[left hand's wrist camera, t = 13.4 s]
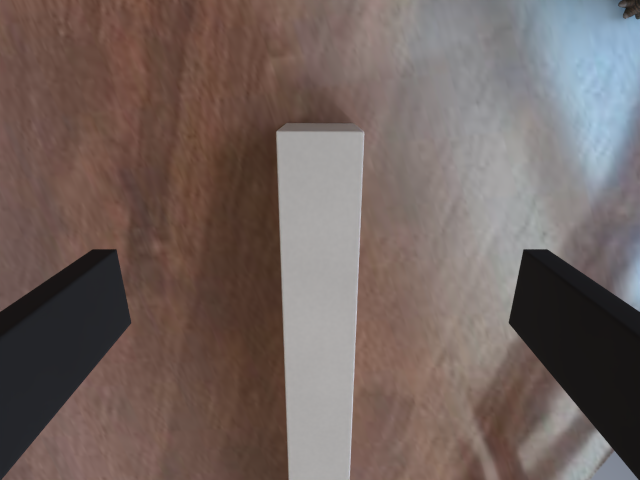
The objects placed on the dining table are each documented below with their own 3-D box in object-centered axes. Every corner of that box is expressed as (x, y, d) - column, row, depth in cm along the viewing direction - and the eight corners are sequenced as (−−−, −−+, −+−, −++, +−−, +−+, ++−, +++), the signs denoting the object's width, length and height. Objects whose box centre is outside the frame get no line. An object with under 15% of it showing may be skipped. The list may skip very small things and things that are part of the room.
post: (285, 122, 31) (275, 130, 24) (354, 123, 31) (364, 131, 24) (299, 611, 55) (296, 686, 48) (338, 611, 55) (340, 686, 48)
